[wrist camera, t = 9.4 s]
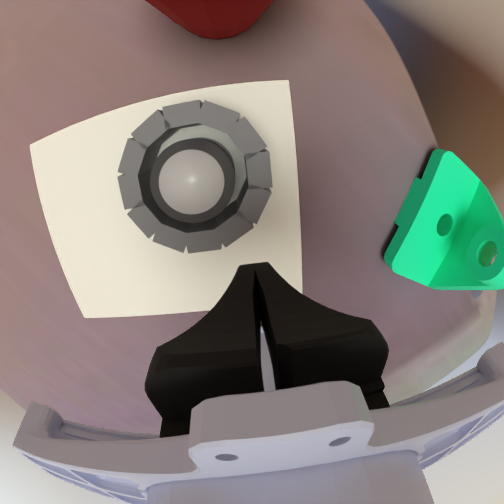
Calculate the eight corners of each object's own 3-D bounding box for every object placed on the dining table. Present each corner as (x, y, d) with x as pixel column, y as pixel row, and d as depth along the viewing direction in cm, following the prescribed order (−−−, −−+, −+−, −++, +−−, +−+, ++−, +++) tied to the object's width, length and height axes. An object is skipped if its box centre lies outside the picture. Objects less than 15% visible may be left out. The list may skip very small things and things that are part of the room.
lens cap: (237, 202, 20) (237, 220, 16) (170, 208, 20) (155, 227, 16) (232, 134, 18) (232, 134, 14) (162, 142, 17) (144, 145, 14)
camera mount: (428, 142, 19) (514, 165, 10) (470, 180, 21) (542, 214, 11) (374, 256, 24) (435, 325, 14) (422, 277, 25) (477, 336, 16)
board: (300, 293, 24) (311, 323, 21) (87, 313, 24) (71, 339, 20) (286, 81, 17) (299, 70, 13) (34, 143, 17) (4, 151, 13)
